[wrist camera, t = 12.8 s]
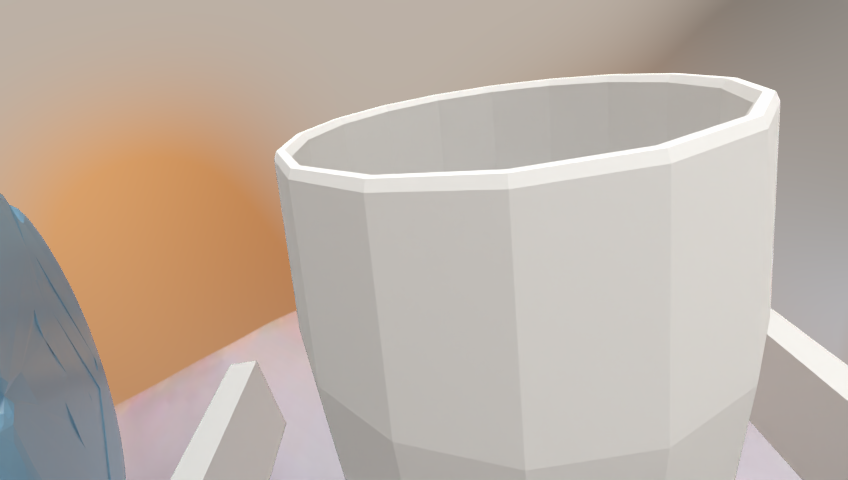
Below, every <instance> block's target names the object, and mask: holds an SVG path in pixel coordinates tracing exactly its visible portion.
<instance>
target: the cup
mask: <svg viewBox="0 0 848 480" xmlns="http://www.w3.org/2000/svg"><path fill="white" fill-rule="evenodd" d="M779 117H780V99H779V97H778V95H777V93H776V91H775V90H771V89H769V88H766V87H763V86H760V85H757V84H754V83H751V82H748V81H745V80H742V79H739V78H735V77H722V76H708V75H695V74H681V73H662V74H661V73H658V74H609V75H596V76H583V77H569V78H554V79H545V80H536V81H527V82H519V83H510V84H502V85H493V86H486V87H480V88H474V89H467V90H461V91H455V92H449V93H443V94H436V95H431V96H426V97H422V98H417V99H412V100H408V101H402V102H398V103H393V104H388V105H383V106H380V107H376V108H372V109H369V110H365V111H362V112H358V113H354V114H350V115H347V116H343V117H340V118H336V119H333V120H331V121H328V122H326V123H323V124H321V125H318V126H316V127H313V128H311V129H308V130H306V131H303V132H301V133H298V134H296V135H295V136H294V137H293V138H291V140H289V141H288V142H287V143H285V144H284V145H283V146H282V147H281V148H279V149H278V150H277V151H276V154H275V159H274V162H275V168H276V175H277V182H278V187H279V195H280V201H281V208H282V215H283V221H284V228H285V235H286V241H287V247H288V254H289V261H290V268H291V274H292V281H293V288H294V294H295V301H296V307H297V314H298V321H299V328H300V332H301V335H302V339H303V342H304V345H305V349H306V352H307V355H308V359H309V362H310V365H311V369H312V372H313V375H314V378H315V382H316V385H317V388H318V392H319V395H320V398H321V402H322V405H323V408H324V412H325V415H326V418H327V421H328V425H329V428H330V431H331V435H332V438H333V441H334V445H335V448H336V451H337V454H338V457H339V461H340V464H341V467H342V470H343V473H344V476H345V479H346V480H735V478H736V474H737V469H738V465H739V461H740V457H741V452H742V448H743V444H744V440H745V436H746V431H747V427H748V423H749V419H750V414H751V410H752V406H753V402H754V397H755V393H756V389H757V385H758V379H759V374H760V368H761V363H762V357H763V352H764V346H765V341H766V335H767V330H768V325H769V319H770V309H771V287H772V266H773V243H774V223H775V201H776V180H777V160H778V138H779Z"/></svg>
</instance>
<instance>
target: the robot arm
mask: <svg viewBox="0 0 848 480" xmlns="http://www.w3.org/2000/svg"><path fill="white" fill-rule="evenodd" d="M749 421H750V422H751V423H752V424H753V425H754V426H755V427H756V428H757V430H758V431H759V432H760V433H761V434H762V435H763V436H764V437H765V439H766V440H767V441H768V442H769V443H770V444H771V445H772V446H773V447H774V449H775V450H776V451H777V452H778V453H779V454H780V455H781V456H782V458H783V459H784V460H785V461H786V462H787V463H788V464H789V465H790V467H791V468H792V469H793V470H794V471H795V472H796V473H797V474H798V475H799V477H800V478H801V479H802V480H848V365H846V364H845V363H843V362H842V361H841V360H839V359H838V358H837V357H836V356H834V355H833V354H832V353H830V352H829V351H828V350H826V349H825V348H823V347H822V346H821V345H819V344H818V343H817V342H816V341H814V340H813V339H812V338H810V337H809V336H808V335H806V334H805V333H803V332H802V331H801V330H800V329H798V328H797V327H795V326H794V325H793V324H792V323H790V322H789V321H788V320H786V319H785V318H784V317H782V316H781V315H779V314H778V313H777V312H776V311H774V310H773V309H770V319H769V325H768V330H767V335H766V341H765V346H764V352H763V357H762V363H761V368H760V374H759V379H758V385H757V389H756V393H755V397H754V402H753V406H752V410H751V414H750V419H749ZM285 426H286V422H285V420H284V418H283V416H282V413H281V411H280V409H279V407H278V405H277V403H276V401H275V399H274V397H273V394H272V392H271V390H270V388H269V386H268V384H267V382H266V380H265V377H264V375H263V373H262V371H261V369H260V367H259V365H258V363H257V361H250V362H244V363H237V364H231V365H230V367H229V368H228V370H227V372H226V374H225V376H224V378H223V380H222V382H221V384H220V386H219V388H218V389H217V391H216V393H215V395H214V397H213V399H212V401H211V403H210V405H209V407H208V409H207V410H206V412H205V414H204V416H203V418H202V420H201V422H200V424H199V426H198V428H197V430H196V431H195V433H194V435H193V437H192V439H191V441H190V443H189V445H188V447H187V449H186V451H185V452H184V454H183V456H182V458H181V460H180V462H179V464H178V466H177V468H176V470H175V472H174V473H173V475H172V477H171V479H170V480H269V479H270V476H271V473H272V469H273V466H274V463H275V459H276V456H277V453H278V449H279V446H280V443H281V439H282V436H283V433H284V430H285ZM0 480H126V476H125V465H124V456H123V449H122V443H121V437H120V431H119V427H118V422H117V417H116V413H115V409H114V405H113V401H112V397H111V393H110V390H109V386H108V383H107V379H106V376H105V372H104V369H103V366H102V363H101V360H100V357H99V354H98V351H97V348H96V346H95V343H94V340H93V338H92V335H91V332H90V329H89V327H88V324H87V322H86V320H85V317H84V315H83V313H82V310H81V308H80V306H79V304H78V301H77V299H76V297H75V295H74V293H73V291H72V289H71V287H70V285H69V283H68V281H67V279H66V277H65V275H64V273H63V271H62V270H61V268H60V266H59V264H58V262H57V261H56V259H55V257H54V256H53V254H52V252H51V251H50V249H49V247H48V246H47V244H46V243H45V241H44V239H43V238H42V236H41V235H40V234H39V232H38V231H37V230H36V228H35V227H34V226H33V224H32V223H31V222H30V221H29V219H28V218H27V217H26V216H25V215H24V214H23V213H22V212H21V211H20V210H19V209H17V208H15V207H13V206H11V205H9V204H8V202H7V201H6V199H5V198H4V196H3V195H2V194H0Z"/></svg>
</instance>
